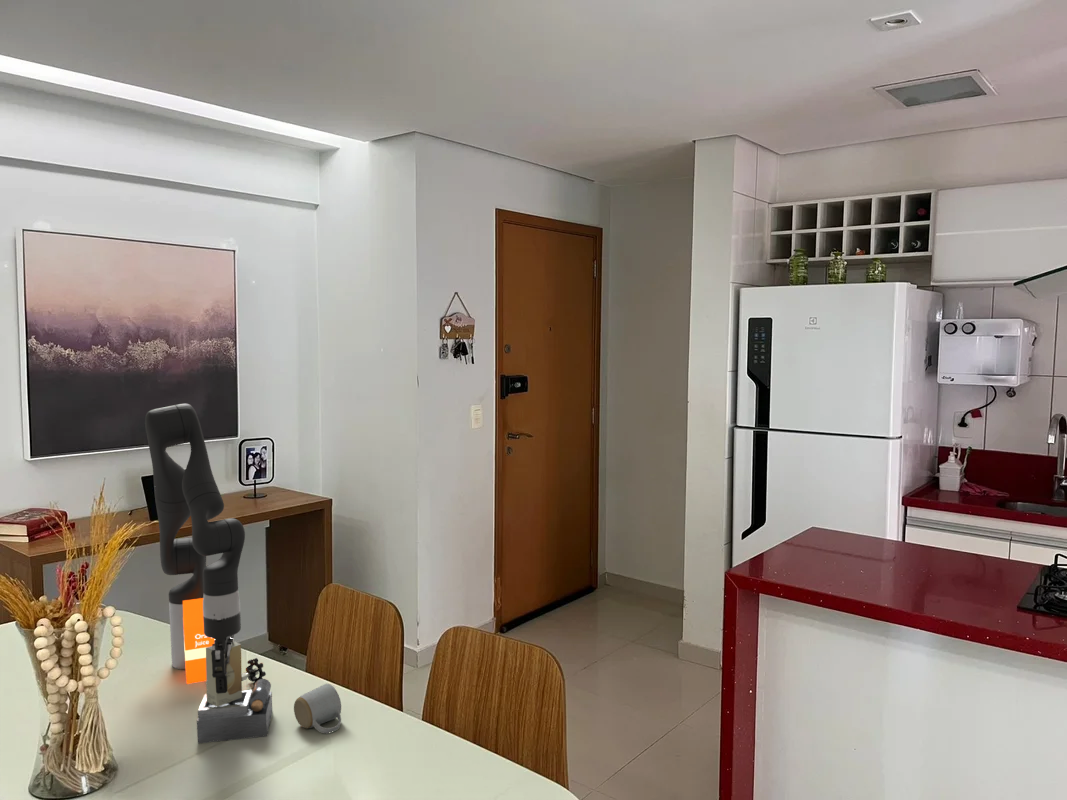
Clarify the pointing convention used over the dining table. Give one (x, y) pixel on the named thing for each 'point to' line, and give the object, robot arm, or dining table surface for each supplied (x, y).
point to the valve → (253, 671)
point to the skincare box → (232, 677)
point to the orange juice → (195, 641)
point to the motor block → (237, 716)
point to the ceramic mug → (318, 708)
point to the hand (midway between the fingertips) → (224, 684)
